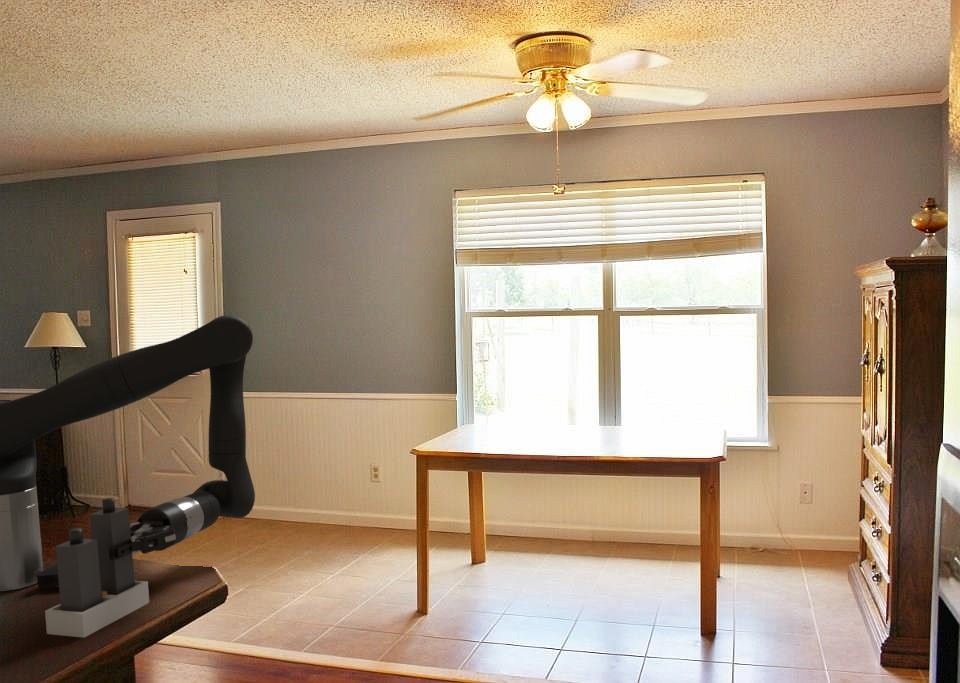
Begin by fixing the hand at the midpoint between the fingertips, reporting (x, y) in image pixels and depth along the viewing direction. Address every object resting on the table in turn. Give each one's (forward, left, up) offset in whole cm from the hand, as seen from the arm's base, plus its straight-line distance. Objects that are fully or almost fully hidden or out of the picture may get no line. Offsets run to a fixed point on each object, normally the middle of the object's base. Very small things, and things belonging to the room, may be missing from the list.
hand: (99, 553), depth 129 cm
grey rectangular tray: (0, -1, -10) cm, 11 cm away
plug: (+1, +2, -7) cm, 8 cm away
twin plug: (-2, -4, -10) cm, 11 cm away
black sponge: (-11, +24, -11) cm, 28 cm away
